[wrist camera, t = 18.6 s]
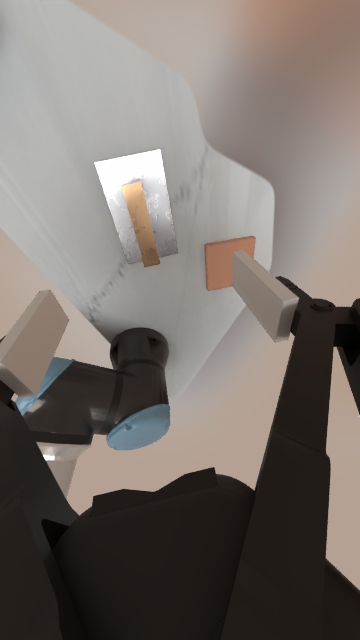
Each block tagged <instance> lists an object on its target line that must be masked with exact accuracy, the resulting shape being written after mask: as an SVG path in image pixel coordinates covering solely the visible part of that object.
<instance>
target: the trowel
mask: <svg viewBox="0 0 360 640" xmlns="http://www.w3.org/2000/svg"><path fill="white" fill-rule="evenodd" d="M95 166H96V169H97V172H98V175H99V178H100V181H101V184H102V187H103V190H104V193H105V196H106V199H107V202H108V205H109V208H110V211H111V214H112V217H113V220H114V223H115V226H116V229H117V232H118V235H119V238H120V241H121V244H122V247H123V250H124V253H125V256H126V259H127V262H128V264H130V263H135V262H140V261H143V263H144V267H148V266H152V265H157V264H160V260H159V257H163V256H167V255H172V254H176V253H178V250H177V244H176V238H175V232H174V226H173V221H172V215H171V209H170V203H169V197H168V191H167V185H166V179H165V173H164V167H163V161H162V156H161V150H160V149H158V150H154V151H149V152H144V153H139V154H134V155H129V156H124V157H119V158H115V159H110V160H105V161H100V162H95Z"/></svg>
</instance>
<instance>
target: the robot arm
mask: <svg viewBox="0 0 360 640" xmlns="http://www.w3.org/2000/svg"><path fill="white" fill-rule="evenodd" d="M232 286H233V287H234V289H235V290H236V291H237V293H238V294H239V295H240V297H241V298H242V299H243V301H244V302H245V303H246V305H247V306H248V307H249V309H250V310H251V311H252V313H253V314H254V315H255V317H256V318H257V319H258V321H259V322H260V323H261V325H262V326H263V327H264V329H265V330H266V331H267V333H268V334H269V335H270V337H271V338H272V339H273V341H274V342H280V341H284V340H288V339H289V334H290V332H291V333H292V334H293V335H294V336H295V338H294V341H293V345H292V349H291V353H290V357H289V361H288V365H287V369H286V373H285V377H284V380H283V384H282V388H281V392H280V396H279V400H278V403H277V408H276V411H275V415H274V419H273V423H272V426H271V430H270V434H269V438H268V442H267V446H266V450H265V453H264V458H263V461H262V465H261V468H260V472H259V476H258V479H257V483H256V487H255V491H254V490H253V489H251V488H250V487H249V486H247V485H246V484H244V483H243V482H241V481H239V480H237V479H235V478H232V477H229V476H226V475H219V474H216V473H215V468H214V467H213V468H208V469H204V470H200V471H196V472H192V473H188V474H184V475H183V476H181V477H179V478H178V479H176V480H174V481H173V482H171V483H169V484H168V485H166V486H164V487H163V488H161V489H159V490H158V491H155V492H149V491H139V490H128V489H122V490H118V491H113V492H109V493H105V494H101V495H96V496H93V504H92V507H90V508H89V509H88V510H86V511H85V512H84V513H82V514H81V515H80V516H79V515H78V514H77V513H76V512H75V511H74V510H73V509H72V508H71V506H70V505H69V503H68V502H67V500H66V497H67V494H68V490H69V487H70V483H71V480H72V476H73V472H74V469H75V465H76V461H77V458H78V457H79V456H80V455H81V454H82V453H83V452H84V451H85V450H87V449H88V448H89V447H90V446H91V442H92V438H93V435H94V434H101V435H107V443H108V445H109V447H111V448H114V449H115V450H132V449H137V448H141V447H144V446H147V445H149V444H152V443H154V442H156V441H157V440H159V439H160V438H162V437H163V436H164V435H165V434H166V432H167V431H168V429H169V426H170V406H169V402H168V395H167V387H166V380H165V372H164V370H165V366H166V363H167V359H168V354H169V350H168V344H167V341H166V339H165V338H164V337H163V336H162V335H161V334H160V333H158V332H156V331H154V330H151V329H146V328H134V329H130V330H127V331H124V332H122V333H120V334H119V335H118V336H117V337H116V338H115V339H114V340H113V342H112V344H111V348H110V359H111V362H112V366H113V369H114V370H113V369H108V368H104V367H100V366H95V365H91V364H87V363H82V362H78V361H75V360H74V359H72V360H68V359H63V358H58V357H53V356H54V353H55V351H56V349H57V347H58V344H59V342H60V340H61V338H62V335H63V333H64V331H65V328H66V326H67V324H68V321H69V319H68V317H67V315H66V314H65V312H64V311H63V309H62V307H61V306H60V304H59V303H58V301H57V300H56V298H55V296H54V295H53V293H52V291H51V290H45V291H40V292H39V293H38V294H37V295H36V297H35V298H34V299H33V301H32V302H31V303H30V305H29V306H28V307H27V309H26V310H25V311H24V313H23V314H22V315H21V316H20V318H19V319H18V320H17V322H16V323H15V324H14V326H13V327H12V329H11V330H10V331H9V332H8V334H7V335H6V336H4V337H3V338H2V339H1V340H0V640H360V590H359V589H358V588H356V587H355V586H354V585H353V584H352V583H351V582H350V581H349V580H348V579H347V578H346V577H345V576H344V575H342V573H341V572H340V571H339V570H337V569H336V568H335V567H334V566H333V565H332V564H331V563H330V562H329V561H328V560H327V559H326V541H327V524H328V507H329V488H330V458H329V457H328V456H327V454H326V438H327V426H328V412H329V400H330V386H331V373H332V361H333V347H337V349H338V352H339V355H340V358H341V361H342V364H343V366H344V370H345V373H346V376H347V379H348V381H349V385H350V388H351V391H352V393H353V396H354V399H355V402H356V405H357V408H358V411H359V414H360V298H359V299H356V300H355V301H354V303H353V305H352V307H335V305H334V304H333V303H332V302H329V301H327V300H323V299H312V298H311V297H310V296H309V295H307V294H306V293H305V292H304V291H302V290H301V289H300V288H298V287H297V286H296V285H294V284H293V283H292V282H291V281H290V280H288V279H286V278H284V277H281V276H279V277H274V276H273V275H272V274H271V273H269V272H268V271H267V270H266V269H265V268H264V267H262V266H261V265H260V264H259V263H258V262H257V261H255V260H254V259H253V258H252V257H251V256H250V255H248V254H247V253H246V252H245V251H244V250H240V251H235V252H233V265H232ZM14 393H15V394H17V395H18V398H17V400H16V401H15V402H14V401H12V400H11V398H12V396H13V394H14Z"/></svg>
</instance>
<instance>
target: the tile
mask: <svg viewBox="0 0 360 640" xmlns="http://www.w3.org/2000/svg"><path fill="white" fill-rule="evenodd" d="M254 248H255V237H254V236H249V237H244V238H238V239H233V240H227V241H222V242H216V243H210V244H205V265H206V286H207V290H208V291H210V290H215V289H220V288H226V287H231V286H232V265H233V252H235V251H240V250H244V251H245V252H246V253H247V254H248V255H250V256H251V257H252V258H254Z"/></svg>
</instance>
